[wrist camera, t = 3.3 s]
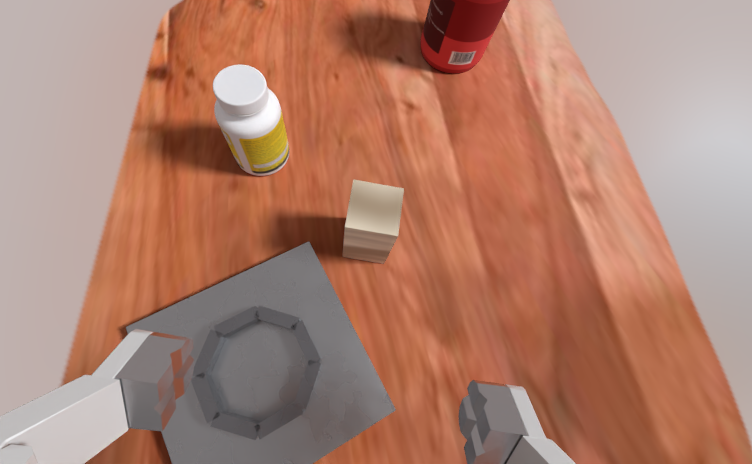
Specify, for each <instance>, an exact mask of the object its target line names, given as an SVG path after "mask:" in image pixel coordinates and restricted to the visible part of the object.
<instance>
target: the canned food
mask: <svg viewBox="0 0 752 464" xmlns="http://www.w3.org/2000/svg"><path fill="white" fill-rule="evenodd" d="M509 1H510V0H431V1H430V5H429V9H428V13H427V17H426V21H425V24H424V28H423V32H422V36H421V52H422V55H423V57H424V59H425V60H426V61H427V62H428V63H429V64H430V65H431V66H432V67H434V68H435V69H437V70H439V71H442V72H446V73H463V72H466V71H468V70H470V69H472V68H473V67H474V66H475V65H476V64H477V63H478V62H479V61H480V59H481V58H482V56H483V54H484V52H485V50H486V48H487V46H488V43H489V41H490V39H491V37H492V35H493V33H494V31H495V29H496V27H497V25H498V23H499V21H500V19H501V17H502V15H503V13H504V11H505V9H506V7H507V5H508V3H509Z"/></svg>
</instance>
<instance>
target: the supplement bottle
mask: <svg viewBox="0 0 752 464" xmlns="http://www.w3.org/2000/svg"><path fill="white" fill-rule="evenodd" d="M213 90H214V93H215V96H216V98H217V101H216V103H215V117H216V120H217V122H218V124H219V126H220V128H221V130H222V133H223V135H224V137H225V139H226V141H227V143H228V145H229V147H230V149H231V152H232V154H233V156H234V158H235V160H236V162H237V163H238V165H239V166H240V167H241V168H242V169H243V170H244V171H246V172H247V173H249V174H252V175H257V176H266V175H270V174H273V173H275V172H277V171H279V170H280V169H281V168H282V167H283V166H284V165H285V164H286V162H287V160H288V157H289V145H288V140H287V135H286V130H285V126H284V121H283V116H282V111H281V107H280V104H279V101H278V99H277V97H276V96H275V94H274V93H273V92H272V91H271V90H269V89H268V87H267V84H266V80H265V78H264V76H263V75H262V73H261V72H259V71H258V70H257V69H255V68H253V67H251V66H247V65H233V66H229V67H227V68H225V69H223V70H222V71H220V72H219V73H218V74H217V76H216V77H215V79H214V82H213Z"/></svg>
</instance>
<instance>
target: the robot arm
mask: <svg viewBox="0 0 752 464" xmlns="http://www.w3.org/2000/svg"><path fill="white" fill-rule="evenodd" d="M193 348H194V347H193V339H191V338H187V337H181V336H176V335H170V334H164V333H158V332H151V331H145V330H139V329H135V330H133V331H131V332H130V333H129V334H128V335H127V336H126V337H125V338H124V339H123V340H122V341H121V343H120V344H119V345H118V346H117V347H116V348H115V349H114V350H113V352H112V353H111V354H110V355H109V356H108V357H107V358H106V359H105V360H104V362H103V363H102V364H101V365H100V366H99V367H98V368H97V369H96V371H95V372H94V373H93V374H92V375H84V376H82V377H80V378H77V379H75V380H73V381H71V382H69V383H67V384H65V385H63V386H61V387H59V388H57V389H55V390H53V391H51V392H49V393H47V394H45V395H43V396H41V397H39V398H37V399H35V400H32V401H30V402H29V403H27V404H24V405H22V406H20V407H18V408H16V409H14V410H12V411H10V412H8V413H6V414H4V415H2V416H0V464H84V463H86V462H87V461H88V460H90V459H91V458H92V457H94V456H95V455H96V454H98V453H99V452H100V451H102V450H103V449H104V448H105V447H107V446H108V445H109V444H111V443H112V442H113V441H115V440H116V439H117V438H119V437H120V436H121V435H123V434H124V433H125V432H127V431H128V428H133V429H143V430H153V431H163V430H164V429H165V427H166V425H167V423H168V422H169V420H170V418H171V416H172V415H173V413H174V411H175V409H176V402H175V400H176V399H177V398H179V397H181V396H182V395H184V394H185V392H186V390H187V388H188V386H189V384H190V381H191V379H192V376H193V372H194V359H193V358H192V357H191V355H190V353H191V351H192V350H193ZM467 389H468V393H469V395H468V396H466V397H465V398H463V400H462V402H461V405H460V409H459V426H460V431H461V433H462V434H463V436H464V437H465V438H466V439H467V442H466V444H465V446H464V450H465V455H466V459H467V464H576V463H575V462H574V461H573V460H572V459H571V458H570V457H569V456H568V455H566V454H565V453H564V452H563V451H562V450H561V449H560V448H559V447H558V446H557V445H556V444H555V443H554V442H553V441H552V440H550V439H546V437H545V434H544V432H543V430H542V427H541V425H540V423H539V420H538V418H537V416H536V414H535V411H534V409H533V407H532V404H531V402H530V400H529V397H528V395H527V393H526V391H525V389H524V388H523V387H519V386H512V385H504V384H499V383H492V382H484V381H477V380H473V381H471V382H470V384H469V386H468V388H467Z"/></svg>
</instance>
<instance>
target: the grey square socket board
mask: <svg viewBox="0 0 752 464" xmlns="http://www.w3.org/2000/svg"><path fill="white" fill-rule="evenodd" d="M135 329H139V330H145V331H151V332H158V333H164V334H170V335H176V336H181V337H187V338H191V339H193V347H194V348H193V350H192V351H191V353H190V355H191V357H192V358H193V359H194V372H193V376H192V379H191V381H190V384H189V386H188V388H187V390H186V392H185V394H184V395H182V396H181V397H179V398H177V399H176V400H175V402H176V409H175V411H174V413H173V415H172V416H171V418H170V420H169V422H168V423H167V425H166V427H165V429H164V430H163V431H161V432H162V435H163V438H164V441H165V444H166V447H167V450H168V453H169V456H170V459H171V462H172V464H313V463H314V462H316V461H317V460H319V459H320V458H322V457H323V456H325V455H327V454H328V453H330V452H331V451H333V450H334V449H336V448H337V447H339V446H341V445H342V444H344V443H345V442H347V441H348V440H350V439H352V438H353V437H355V436H356V435H358V434H359V433H361V432H362V431H364V430H366V429H367V428H369V427H370V426H372V425H373V424H375V423H376V422H378V421H380V420H381V419H383V418H384V417H386V416H387V415H389V414H390V413H392V412H394V411H395V410H396V409H395V407H394V405H393V403H392V401H391V400H390V398H389V396H388V394H387V392H386V390H385V388H384V386H383V384H382V382H381V380H380V378H379V376H378V374H377V372H376V370H375V368H374V367H373V365H372V363H371V361H370V359H369V357H368V355H367V353H366V351H365V349H364V347H363V345H362V343H361V341H360V339H359V337H358V335H357V333H356V332H355V330H354V328H353V326H352V324H351V322H350V320H349V318H348V316H347V314H346V312H345V310H344V308H343V306H342V304H341V302H340V300H339V298H338V297H337V295H336V293H335V291H334V289H333V287H332V285H331V283H330V281H329V279H328V277H327V275H326V273H325V271H324V269H323V267H322V265H321V263H320V262H319V260H318V258H317V256H316V254H315V252H314V250H313V248H312V246H311V244H310V242H306V243H304V244H302V245H300V246H298V247H296V248H294V249H291V250H289V251H287V252H285V253H283V254H281V255H279V256H277V257H274V258H272V259H270V260H268V261H266V262H264V263H262V264H259V265H257V266H255V267H253V268H251V269H249V270H247V271H244V272H242V273H240V274H238V275H236V276H234V277H232V278H230V279H227V280H225V281H223V282H221V283H219V284H217V285H215V286H212V287H210V288H208V289H206V290H204V291H202V292H200V293H197V294H195V295H193V296H191V297H189V298H187V299H185V300H183V301H180V302H178V303H176V304H174V305H172V306H170V307H168V308H165V309H163V310H161V311H159V312H157V313H155V314H153V315H150V316H148V317H146V318H144V319H142V320H140V321H138V322H136V323H133V324H131V325H129V326H127V327H126V330H127V333H128V334H129V333H130V332H131V331H133V330H135Z"/></svg>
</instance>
